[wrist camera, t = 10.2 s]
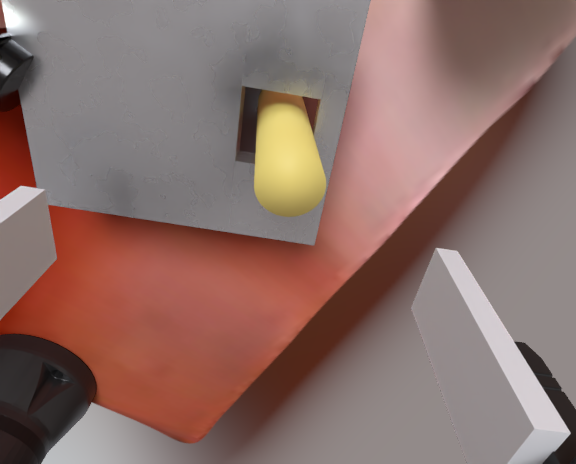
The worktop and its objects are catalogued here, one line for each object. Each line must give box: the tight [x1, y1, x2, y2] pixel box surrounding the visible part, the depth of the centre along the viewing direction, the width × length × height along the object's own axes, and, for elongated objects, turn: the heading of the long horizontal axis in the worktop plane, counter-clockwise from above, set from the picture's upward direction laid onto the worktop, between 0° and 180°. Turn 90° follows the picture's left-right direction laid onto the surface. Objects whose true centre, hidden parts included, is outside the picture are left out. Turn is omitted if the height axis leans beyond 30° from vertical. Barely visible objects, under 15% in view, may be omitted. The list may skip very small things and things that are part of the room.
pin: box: [254, 89, 326, 217], centre depth 26 cm, size 4×4×14 cm
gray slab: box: [1, 0, 371, 245], centre depth 28 cm, size 16×20×8 cm
